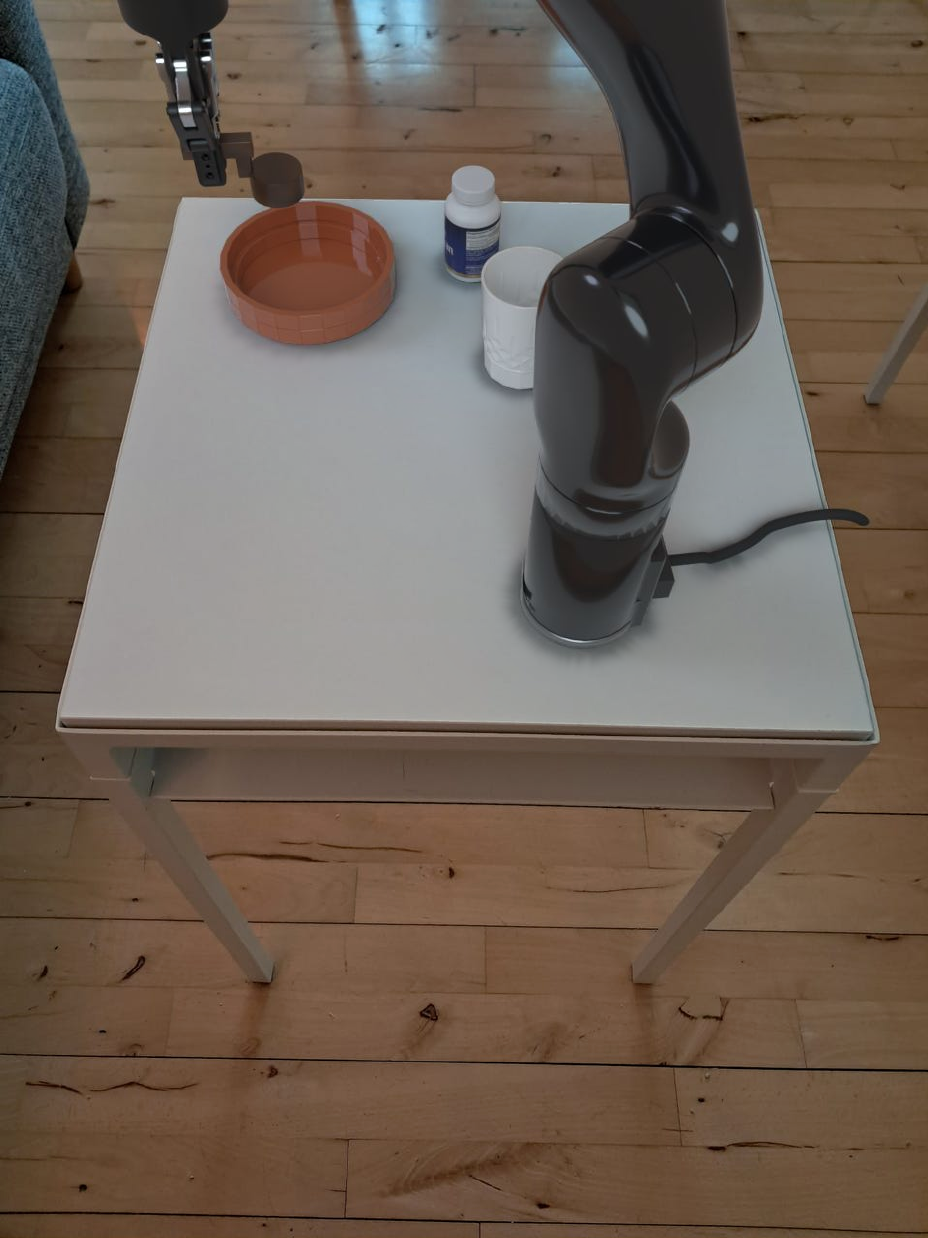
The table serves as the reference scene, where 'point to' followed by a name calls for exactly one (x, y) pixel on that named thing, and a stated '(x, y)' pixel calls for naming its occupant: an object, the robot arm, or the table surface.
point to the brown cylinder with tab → (263, 170)
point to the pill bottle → (471, 223)
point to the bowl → (308, 272)
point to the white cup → (513, 311)
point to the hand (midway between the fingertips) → (214, 175)
